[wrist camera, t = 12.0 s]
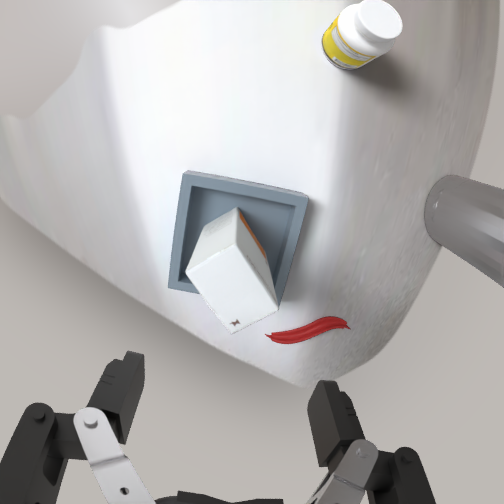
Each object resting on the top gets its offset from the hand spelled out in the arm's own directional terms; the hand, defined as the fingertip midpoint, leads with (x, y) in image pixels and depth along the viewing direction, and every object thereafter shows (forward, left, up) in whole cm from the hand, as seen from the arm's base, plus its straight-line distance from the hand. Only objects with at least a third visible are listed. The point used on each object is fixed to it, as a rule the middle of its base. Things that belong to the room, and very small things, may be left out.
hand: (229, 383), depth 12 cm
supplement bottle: (-7, -23, -21) cm, 32 cm away
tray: (0, 0, -21) cm, 21 cm away
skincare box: (0, 0, -21) cm, 21 cm away
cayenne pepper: (-12, +10, -22) cm, 27 cm away
